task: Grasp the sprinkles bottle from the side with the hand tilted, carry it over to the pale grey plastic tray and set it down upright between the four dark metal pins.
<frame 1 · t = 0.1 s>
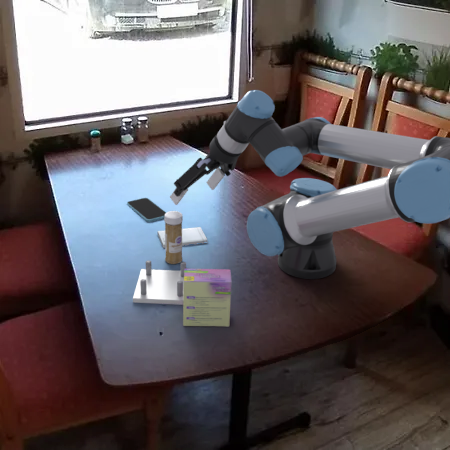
hand: (192, 193, 169), 15 cm above the table, tool tilted 35°, fingers open, 13 cm apart
hard drive: (182, 240, 179), on the table
smartphone: (147, 211, 194), on the table
pin tray: (164, 288, 156), on the table
box: (206, 320, 145), on the table
sprinkles bottle: (173, 260, 168), on the table
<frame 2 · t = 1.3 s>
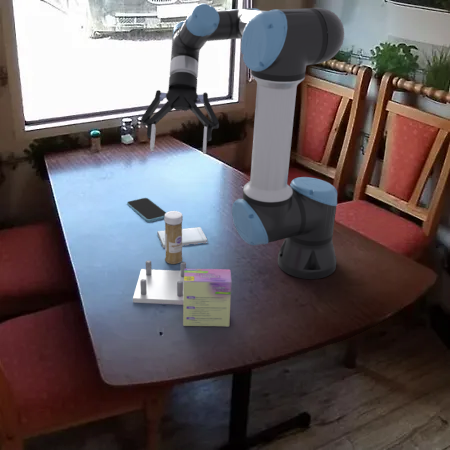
hand: (178, 150, 166), 26 cm above the table, tool tilted 45°, fingers open, 13 cm apart
nothing on the table moved.
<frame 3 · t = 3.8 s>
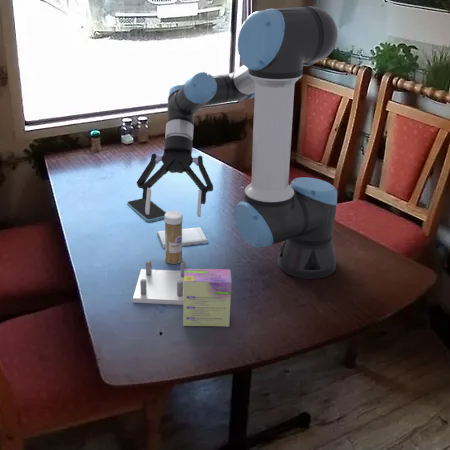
hand: (172, 214, 169), 10 cm above the table, tool tilted 45°, fingers open, 13 cm apart
nothing on the table moved.
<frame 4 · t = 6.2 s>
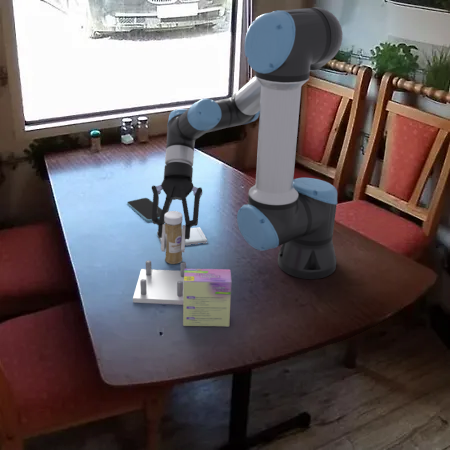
hand: (172, 250, 164), 4 cm above the table, tool tilted 45°, fingers closed on sprinkles bottle, 4 cm apart
sprinkles bottle: (173, 260, 168), on the table, touching gripper
everything else where it was.
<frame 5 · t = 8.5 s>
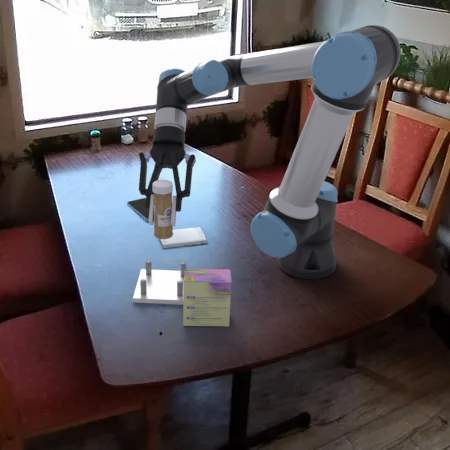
hand: (162, 223, 147), 18 cm above the table, tool tilted 45°, fingers closed on sprinkles bottle, 4 cm apart
sprinkles bottle: (163, 236, 151), point 14 cm above the table, touching gripper
everything else where it was.
when the fingers open (7 cm above the table, at t = 10.9 s): sprinkles bottle drops 1 cm, resting on pin tray.
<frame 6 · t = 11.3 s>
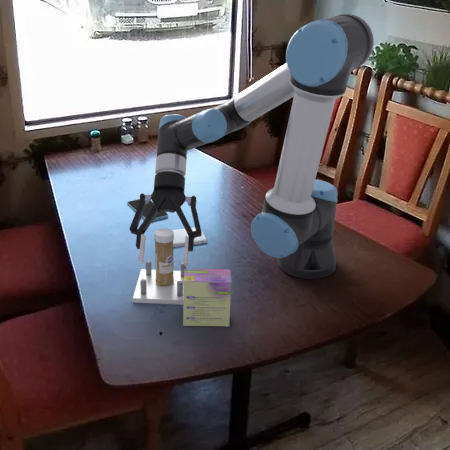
hand: (163, 263, 152), 7 cm above the table, tool tilted 45°, fingers open, 10 cm apart
sprinkles bottle: (164, 282, 156), point 1 cm above the table, touching pin tray
everything else where it was.
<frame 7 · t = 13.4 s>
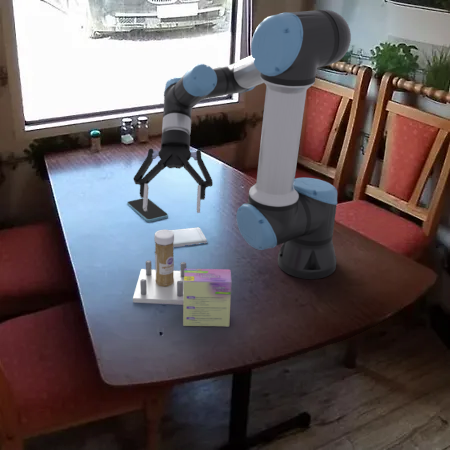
hand: (171, 210, 163), 14 cm above the table, tool tilted 45°, fingers open, 13 cm apart
nothing on the table moved.
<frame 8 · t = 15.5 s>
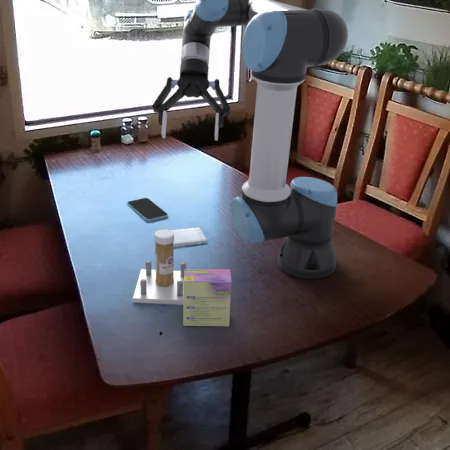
hand: (189, 137, 165), 30 cm above the table, tool tilted 45°, fingers open, 13 cm apart
nothing on the table moved.
at the end: sprinkles bottle 1.0 cm from the pin tray (horizontally); sprinkles bottle tilted 0°; sprinkles bottle point 1.0 cm above the table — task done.
